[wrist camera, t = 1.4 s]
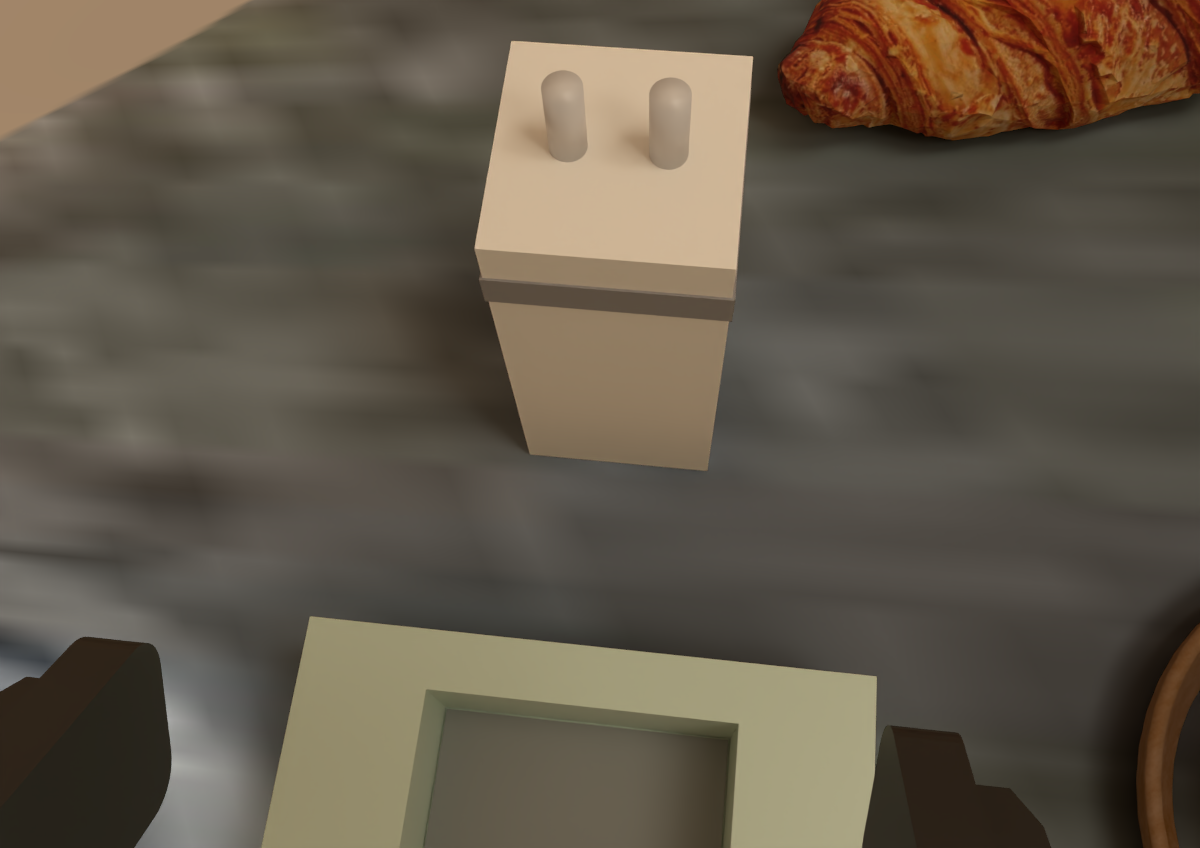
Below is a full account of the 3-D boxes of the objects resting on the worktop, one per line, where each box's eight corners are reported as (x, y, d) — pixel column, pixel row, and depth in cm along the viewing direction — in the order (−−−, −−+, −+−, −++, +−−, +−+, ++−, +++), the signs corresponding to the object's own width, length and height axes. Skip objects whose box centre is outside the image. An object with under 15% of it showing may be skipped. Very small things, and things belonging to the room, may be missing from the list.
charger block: (722, 310, 30) (764, -9, 19) (709, 473, 28) (747, 220, 18) (551, 296, 30) (498, -26, 20) (527, 456, 29) (456, 198, 18)
